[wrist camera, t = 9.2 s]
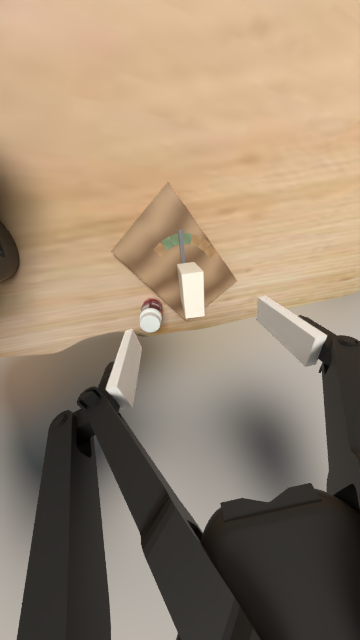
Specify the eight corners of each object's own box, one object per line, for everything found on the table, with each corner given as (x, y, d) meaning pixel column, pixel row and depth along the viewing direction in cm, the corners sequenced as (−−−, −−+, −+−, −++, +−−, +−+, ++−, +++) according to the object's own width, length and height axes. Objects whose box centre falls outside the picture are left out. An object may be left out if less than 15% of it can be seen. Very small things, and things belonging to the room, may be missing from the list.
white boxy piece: (179, 293, 33) (185, 318, 24) (171, 230, 27) (177, 231, 18) (192, 291, 33) (204, 315, 24) (188, 228, 27) (202, 228, 18)
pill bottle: (166, 306, 37) (167, 325, 30) (151, 317, 39) (149, 337, 31) (152, 293, 35) (150, 309, 28) (138, 305, 36) (132, 323, 29)
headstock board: (113, 250, 30) (110, 251, 28) (167, 184, 26) (168, 181, 24) (185, 317, 40) (186, 321, 38) (233, 278, 35) (237, 280, 33)
